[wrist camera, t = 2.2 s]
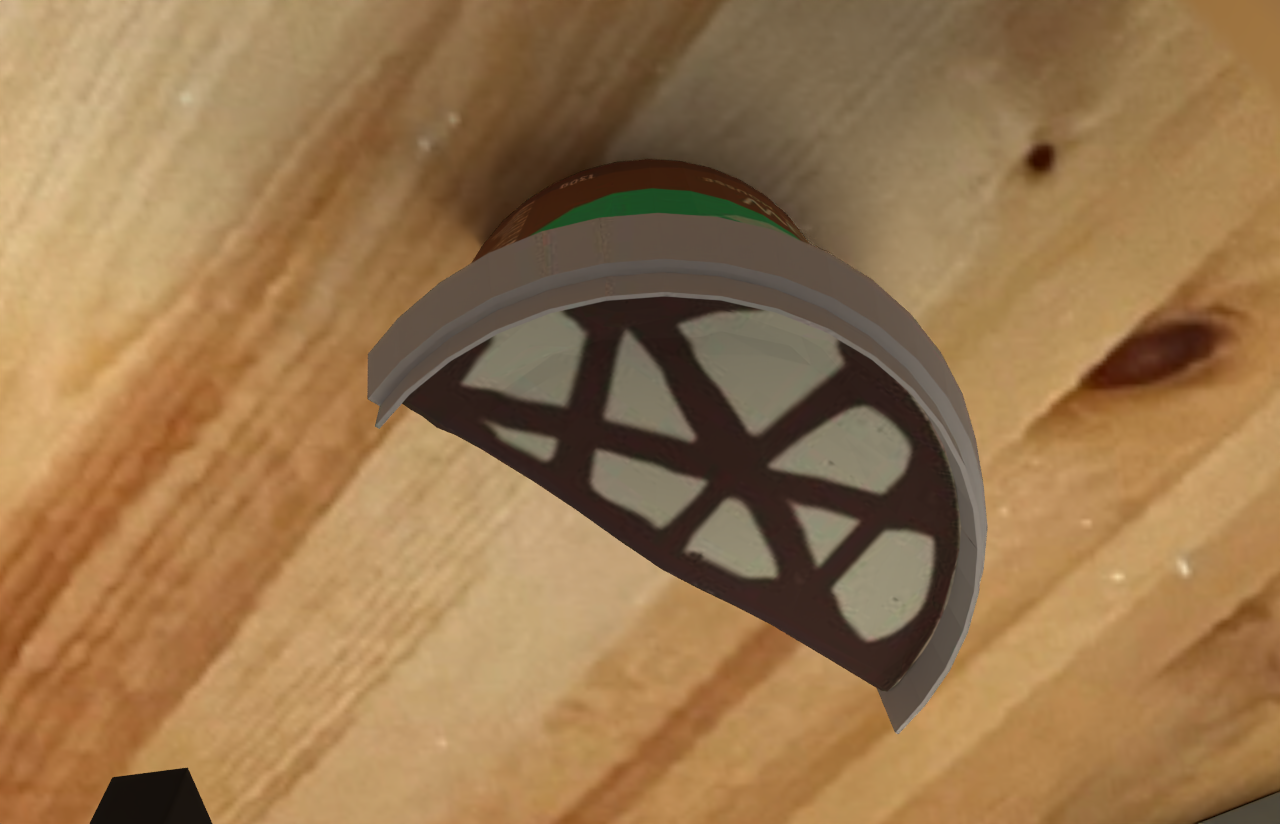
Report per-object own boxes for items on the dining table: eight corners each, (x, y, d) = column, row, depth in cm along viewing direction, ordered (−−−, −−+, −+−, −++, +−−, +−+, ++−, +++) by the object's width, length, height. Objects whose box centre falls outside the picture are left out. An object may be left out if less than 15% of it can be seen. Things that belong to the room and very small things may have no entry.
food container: (987, 301, 28) (1167, 523, 19) (824, 475, 30) (919, 747, 22) (580, -13, 25) (572, 85, 16) (427, 211, 27) (344, 409, 18)
